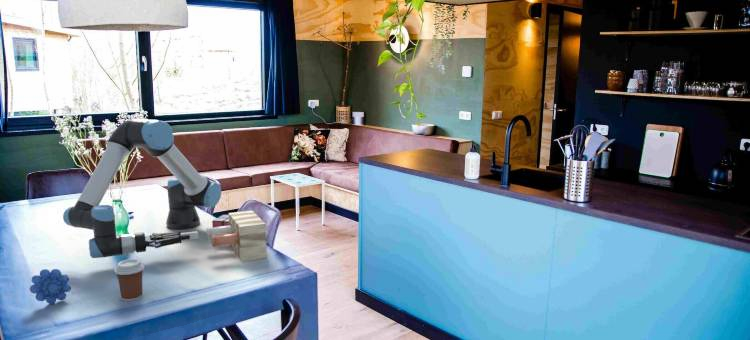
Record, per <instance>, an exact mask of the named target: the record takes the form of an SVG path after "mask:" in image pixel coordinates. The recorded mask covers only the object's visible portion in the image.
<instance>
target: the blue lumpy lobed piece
mask: <svg viewBox="0 0 750 340" xmlns="http://www.w3.org/2000/svg"><path fill="white" fill-rule="evenodd" d="M69 282H70V277H69V276H68V275H67V274H62V272H61V270H60V269H58V268H57V269H56V268H54V269H52V270H51V271H50V270H49V269H48V268H47V269H46V268H45V269H42V270H40V271H39V274H38V275H36V274H35V275H33V276H32V277H31V283H33V284H31V285H30V287H29V291H30V293H32V294H35V299H36V301H38V302H44V301H46V303H48V304H49V305H51V304H52V305H53V304H55V303H56V302H57V300H59V301H63V300H65V299H66V297H67V294H66V293H69V292H71V289H72V286H71V284H70V283H69Z"/></svg>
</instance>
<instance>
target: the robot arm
mask: <svg viewBox="0 0 750 340" xmlns="http://www.w3.org/2000/svg"><path fill="white" fill-rule="evenodd" d="M174 143H175V135H174V130H173V129H172V126H171V125H170V124H169V123H168V122H166V121H163V120H159V119H146V118H145V119H140V118H139V119H138V118H131V119H128V120H126V121H123V122H122V123H120V125H119V126H117V127H116V128H115V130H113V132H112V133H111V135H110V136H109V138H108V140H107V141H106V149H105V151H104V153H103V154H102V155H101V158H100V160H99V161H98V163H97V165H96V167H95V168H94V171H93V172H92V174H91V176H90V178H89V180H88V182H87V183H86V185H85V187H84V189H83V190H82V192H81V194H80V196H79V197H78V199H77V201H76V203H75V205H74V206H70V207H68V208H67V209H65V211H64V212H63V216H62V218H63V222H64V223H65V224H66V225H68V226H69V227H73V228H79V229H80V228H81V229H86V230H90V231H91V230H92V231H93V238H90V239H89V240H88V247H89V248H88V249H89V256H90V257H91V258H92V259H100V258H104V259H105V258H109V257H114V256H122V255H126V256H129V254H134V253H144V252H146V251H147V248H148V247H149V248H150V247H151V248H155V249H158V248H163V247H166V246H171V245H175V244H182V241H189V240H198V239H199V232H198V230H197V231H189V232H188V231H187V232H181V231H174V232H153V233H152V234H149V235H147V236H146V235H145V232H135V233H134V234H133V233H126V234H119V235H117V231H116V230H117V229H116V215H115V211H114V207H113V206H112V205H111V204H110V205H109V204H101V202H102V200H103V199H104V197H105V194H106V193H107V191H108V189H109V187H110V185H111V183H112V182H113V180H114V178H115V177H116V175H117V172H118V171H119V169H120V167H121V165H122V163H123V161H124V160H125V158H126V156H129V155H130V154H131V152H132V150H134V149H135V148H139V149H143V150H145V151H146V153H147V154H148V155H149V156H151V157H153V158H158V160H159V161H160V162H161V163H162V164H163V165H164V166H165V167H166V169H168V171H169V172H170V173H171V174H172V175H173V177H174V178H170V179H169V180H167V188H166V189H167V197H168V198H167V199H168V214H167V218H166V227H167V228H168V229H173V230H185V229H192V228H194V227H197V226H199V225H200V224H201V218H200V216H199V213H198V211H197V209H196V207H204V208H214V207H216V206H217V205H218V204H219V202H220V200H221V198H222V188H221V185H220V184H219V182H215V181H211V180H210V179H209V178H208V177H207V176H206V175H205V174H202V173H199V172H198V171H197V169H196V168H195V167H194V166H193V165H192V164H191V162H190V161H189V160H188V159H187V157H186V156H185V155H184V154H183V153H182V152H181V151H180V150H179V149H178V147H177V146H176V145H175V144H174ZM100 204H101V205H100Z"/></svg>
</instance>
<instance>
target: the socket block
mask: <svg viewBox="0 0 750 340" xmlns="http://www.w3.org/2000/svg"><path fill="white" fill-rule="evenodd" d="M227 215H229V225H232V226H233V234H235V233H239V243H237V244H230V247H231V249H232V250H233V251H234V253H235V254H236V255H237V257H238V259H240V261H241V262H249V261H252V260H258V259H259V260H260V259H266V258H267V257H268V255H267V254H268V252H267V248H268V247H267V229H266V225H267V224H266V222H264V221H263V220H262V219H261V217H260V216H259V215H257V214H256V213H255V212H254V211H253V210H245V211H237V212H236V211H235V212H228V214H227Z"/></svg>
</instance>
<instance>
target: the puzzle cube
mask: <svg viewBox="0 0 750 340" xmlns="http://www.w3.org/2000/svg"><path fill="white" fill-rule="evenodd" d="M211 222H212V223H211V224H212V225H211V226H212V228H214V227H221V226H229V215H228V214H222V215H220V216H219V217H217V218H215V219H213V220H211Z"/></svg>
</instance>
